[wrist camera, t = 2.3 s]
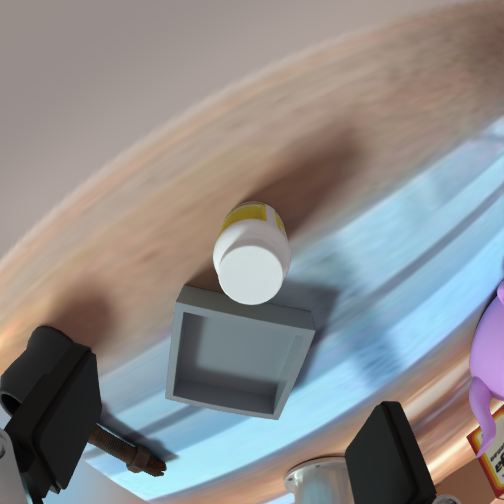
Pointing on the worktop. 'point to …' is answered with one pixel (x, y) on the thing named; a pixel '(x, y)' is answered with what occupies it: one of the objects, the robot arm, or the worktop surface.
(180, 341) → the tray
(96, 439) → the bolt
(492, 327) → the purple lidded sugar bowl
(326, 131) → the worktop surface
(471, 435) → the baking soda box
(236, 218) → the supplement bottle
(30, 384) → the mug
